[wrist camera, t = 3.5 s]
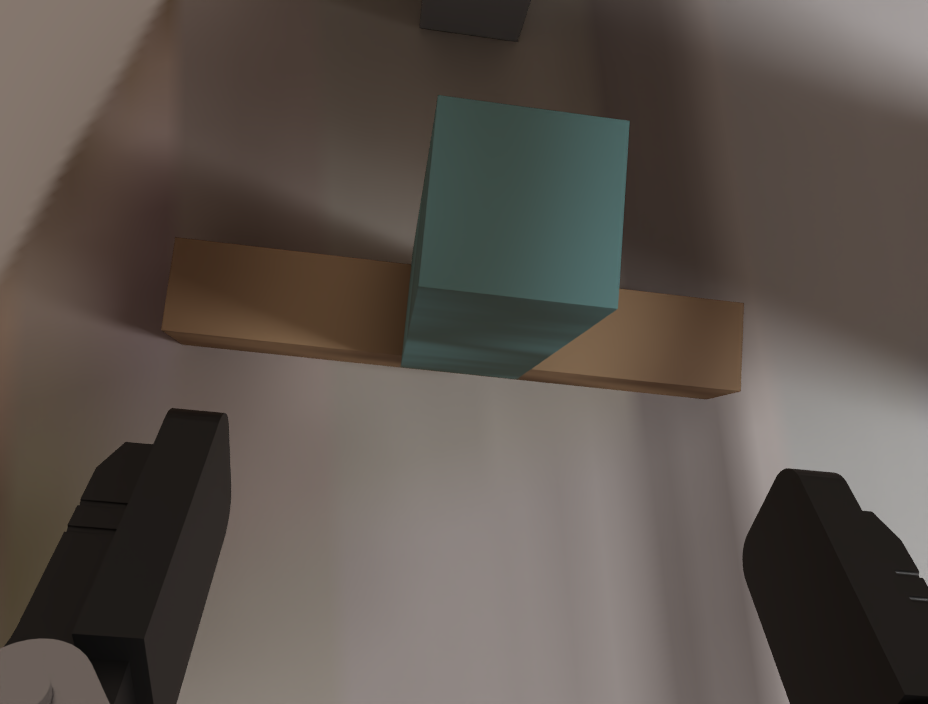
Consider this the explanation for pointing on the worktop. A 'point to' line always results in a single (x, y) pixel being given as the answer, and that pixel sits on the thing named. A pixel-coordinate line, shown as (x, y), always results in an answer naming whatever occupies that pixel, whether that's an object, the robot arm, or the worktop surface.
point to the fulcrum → (476, 17)
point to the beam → (477, 274)
